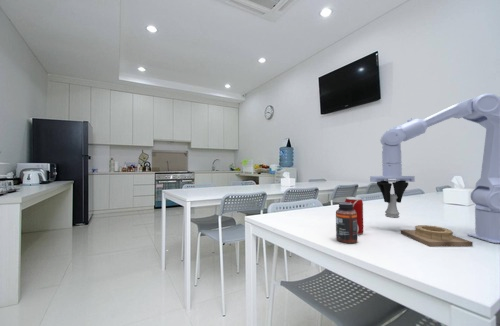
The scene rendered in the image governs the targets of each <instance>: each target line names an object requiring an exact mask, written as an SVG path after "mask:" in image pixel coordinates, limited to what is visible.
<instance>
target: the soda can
mask: <svg viewBox="0 0 500 326" xmlns="http://www.w3.org/2000/svg"><path fill="white" fill-rule="evenodd" d="M344 202H347V203H352V204H353V210H354V211H356V213H357V236H360V235H362V234H364V202H363V199H362V197H353V196H351V197H350V196H349V197H345V201H344Z"/></svg>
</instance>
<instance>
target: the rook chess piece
mask: <svg viewBox="0 0 500 326" xmlns="http://www.w3.org/2000/svg"><path fill="white" fill-rule="evenodd" d="M397 198H398V197H397V195H396V194H394V193H390V203H387V208H386V210H385V214H384V215H385V217H387V218H389V219H390V218H391V219H399V218H400V212H399V210H398V207H397V203H398V202H397V201H396V199H397Z"/></svg>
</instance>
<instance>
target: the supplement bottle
mask: <svg viewBox="0 0 500 326" xmlns="http://www.w3.org/2000/svg"><path fill="white" fill-rule="evenodd" d="M335 233H336V234H335V236H336V240H337V241H338V242H341V243H343V244H344V243H345V244H354V243H357V242H358V235H357V213H356V211H354V210H353V204H352V203H347V202H345V201H344V202H339V203H338V209H336V211H335Z"/></svg>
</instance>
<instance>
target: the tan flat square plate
mask: <svg viewBox="0 0 500 326" xmlns="http://www.w3.org/2000/svg"><path fill="white" fill-rule="evenodd" d="M453 233H454V232H453V231H452V230H451V229H449V228H445V227H443V226H442V227H440V226H435V225H425V224H423V225H415V228H414V229H400V235H403V236H405V237H408V238H410V239H411V240H414V241H416V242H419V243H421V244H422V245H423V244H424V245H426V246H428V247H473V241H471V240H468V239H464V238H461V237H459V236H456V235H454V234H453Z"/></svg>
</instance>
